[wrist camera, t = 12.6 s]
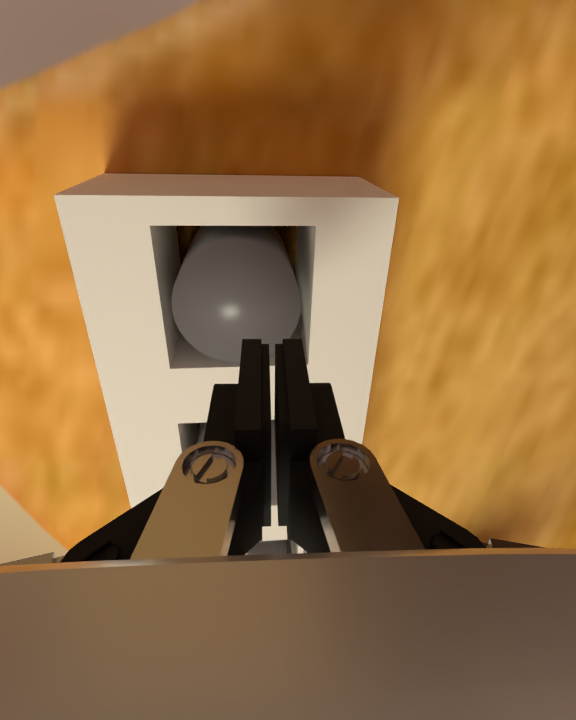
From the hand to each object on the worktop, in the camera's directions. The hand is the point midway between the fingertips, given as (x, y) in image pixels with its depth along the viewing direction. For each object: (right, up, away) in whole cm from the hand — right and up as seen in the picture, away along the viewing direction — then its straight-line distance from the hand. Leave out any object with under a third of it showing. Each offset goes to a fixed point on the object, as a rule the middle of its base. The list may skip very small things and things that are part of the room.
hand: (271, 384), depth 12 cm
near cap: (-2, +6, +9) cm, 11 cm away
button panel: (-2, -2, +14) cm, 15 cm away
